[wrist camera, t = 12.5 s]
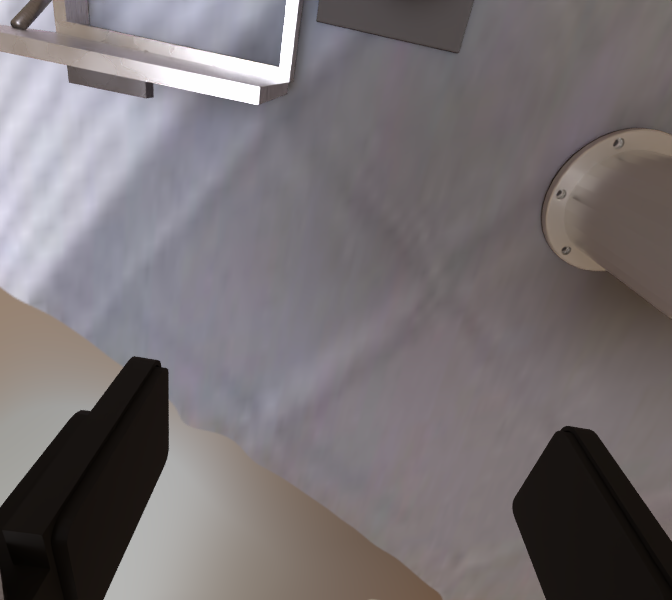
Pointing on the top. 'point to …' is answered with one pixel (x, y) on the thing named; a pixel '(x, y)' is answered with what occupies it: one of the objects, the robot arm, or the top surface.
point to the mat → (402, 19)
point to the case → (147, 56)
